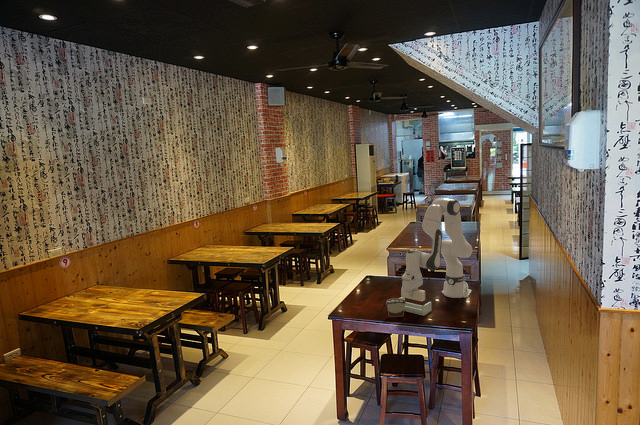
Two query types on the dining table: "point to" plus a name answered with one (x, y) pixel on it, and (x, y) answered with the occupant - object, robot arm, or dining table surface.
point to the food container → (395, 307)
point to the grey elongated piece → (417, 308)
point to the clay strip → (414, 294)
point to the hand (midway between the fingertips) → (413, 295)
